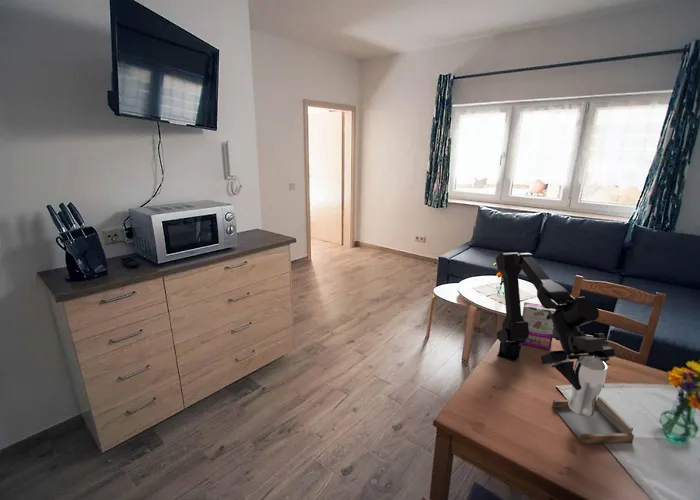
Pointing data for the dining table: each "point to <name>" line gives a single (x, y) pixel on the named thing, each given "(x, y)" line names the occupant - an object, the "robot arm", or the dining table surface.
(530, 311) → the candy bar box
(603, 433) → the wooden tray
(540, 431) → the dining table surface
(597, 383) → the silver metal cup
